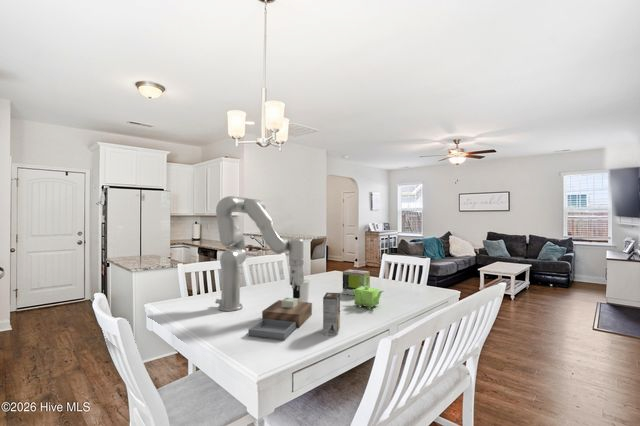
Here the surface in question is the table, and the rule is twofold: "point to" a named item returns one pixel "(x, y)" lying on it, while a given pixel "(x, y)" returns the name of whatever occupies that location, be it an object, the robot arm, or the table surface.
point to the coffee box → (331, 313)
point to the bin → (272, 329)
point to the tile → (289, 302)
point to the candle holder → (304, 291)
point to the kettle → (366, 296)
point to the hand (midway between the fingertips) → (296, 297)
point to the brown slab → (288, 312)
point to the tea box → (355, 280)
